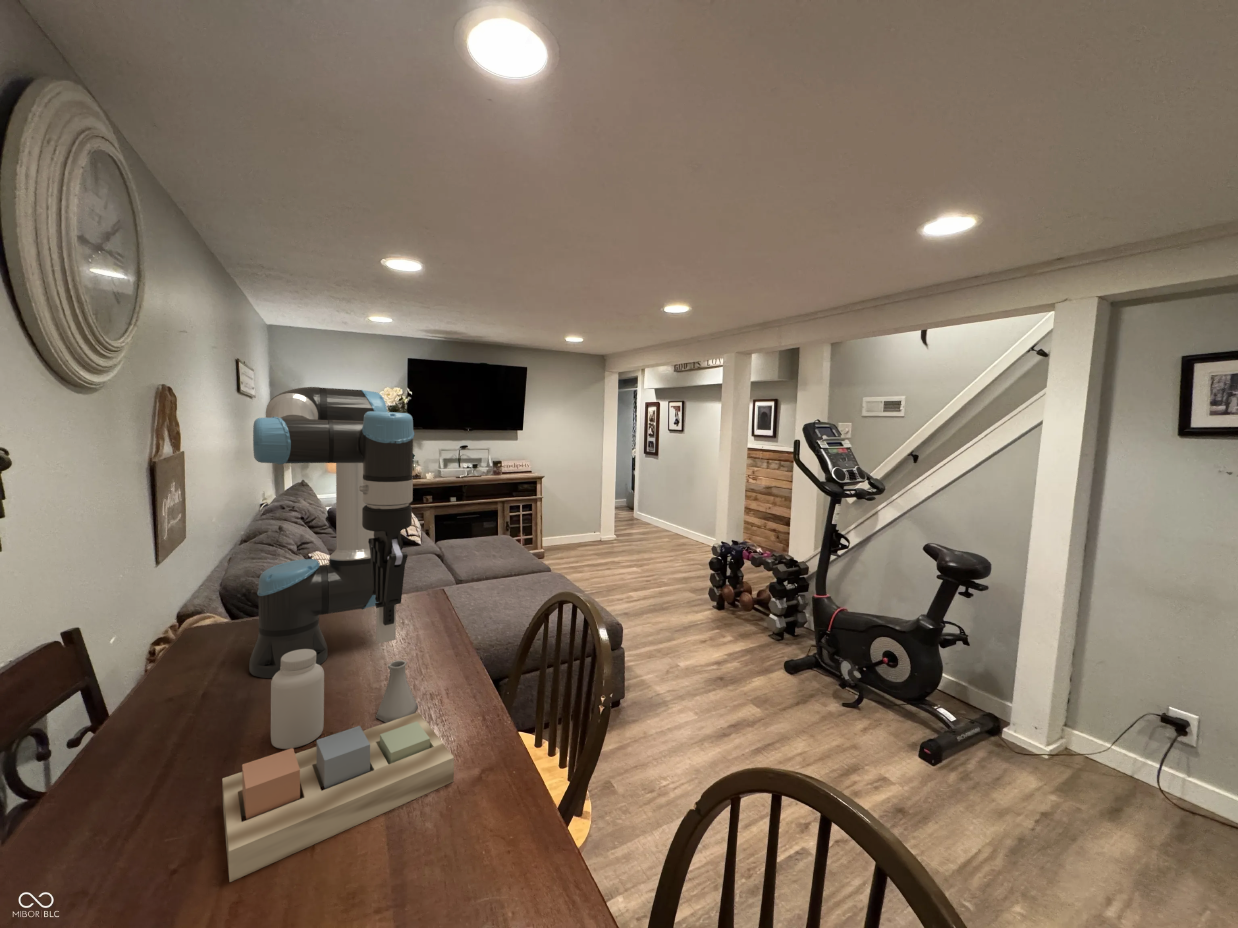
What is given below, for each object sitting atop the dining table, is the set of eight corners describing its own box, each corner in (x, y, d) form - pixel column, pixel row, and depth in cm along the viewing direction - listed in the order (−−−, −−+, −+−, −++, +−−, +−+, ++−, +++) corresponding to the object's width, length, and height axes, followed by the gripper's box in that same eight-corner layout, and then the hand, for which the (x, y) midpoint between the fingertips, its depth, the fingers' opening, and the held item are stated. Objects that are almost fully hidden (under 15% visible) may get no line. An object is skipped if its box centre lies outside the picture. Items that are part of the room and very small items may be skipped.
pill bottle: (334, 728, 90) (334, 649, 89) (292, 755, 83) (292, 669, 82) (302, 719, 93) (302, 642, 92) (259, 744, 85) (259, 660, 84)
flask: (401, 726, 92) (402, 674, 91) (368, 720, 93) (368, 669, 93) (424, 705, 99) (425, 657, 98) (392, 700, 100) (393, 653, 100)
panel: (222, 804, 72) (222, 778, 71) (418, 732, 90) (418, 711, 90) (229, 882, 60) (228, 851, 59) (453, 781, 78) (454, 757, 78)
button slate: (316, 766, 75) (316, 739, 75) (359, 750, 79) (359, 725, 79) (324, 788, 70) (324, 760, 70) (370, 770, 74) (370, 744, 74)
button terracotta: (242, 793, 69) (242, 764, 69) (293, 774, 73) (293, 747, 73) (246, 819, 64) (245, 788, 64) (300, 798, 68) (299, 769, 68)
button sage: (379, 758, 81) (379, 734, 81) (416, 744, 85) (417, 721, 85) (390, 778, 76) (391, 752, 76) (429, 762, 80) (429, 738, 80)
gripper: (352, 499, 84) (351, 631, 86) (374, 513, 75) (373, 661, 77) (398, 496, 89) (396, 621, 91) (424, 509, 80) (421, 648, 82)
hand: (385, 639), depth 84 cm, fingers closed
